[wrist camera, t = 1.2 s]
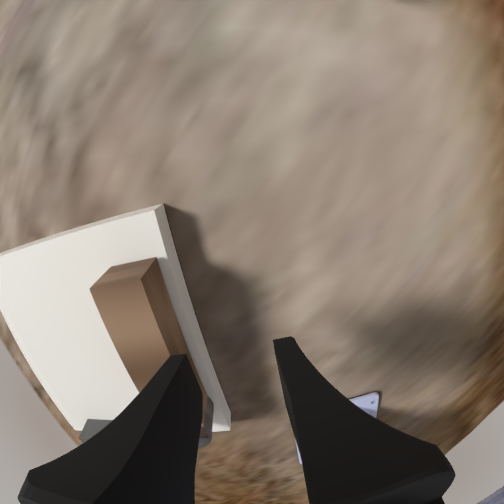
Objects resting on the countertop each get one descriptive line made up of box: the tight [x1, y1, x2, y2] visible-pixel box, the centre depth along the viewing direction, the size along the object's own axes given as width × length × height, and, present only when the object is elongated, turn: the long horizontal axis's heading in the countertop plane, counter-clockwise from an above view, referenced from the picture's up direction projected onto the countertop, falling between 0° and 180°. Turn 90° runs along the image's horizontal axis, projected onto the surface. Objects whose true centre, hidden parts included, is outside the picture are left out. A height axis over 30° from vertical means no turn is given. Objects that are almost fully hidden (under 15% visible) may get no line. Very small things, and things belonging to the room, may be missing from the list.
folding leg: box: [90, 257, 214, 448], centre depth 17 cm, size 13×3×3 cm, turn 11°
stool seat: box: [0, 204, 231, 443], centre depth 19 cm, size 18×16×4 cm
